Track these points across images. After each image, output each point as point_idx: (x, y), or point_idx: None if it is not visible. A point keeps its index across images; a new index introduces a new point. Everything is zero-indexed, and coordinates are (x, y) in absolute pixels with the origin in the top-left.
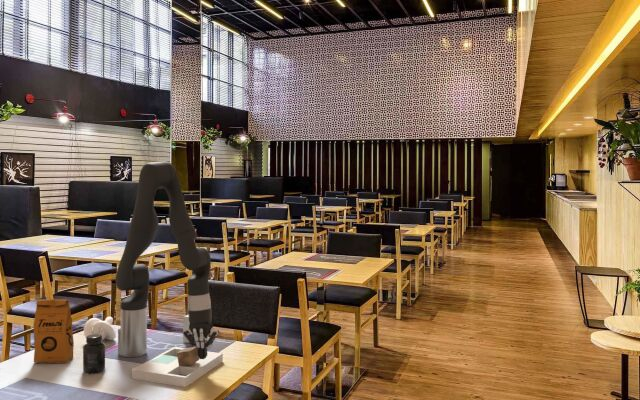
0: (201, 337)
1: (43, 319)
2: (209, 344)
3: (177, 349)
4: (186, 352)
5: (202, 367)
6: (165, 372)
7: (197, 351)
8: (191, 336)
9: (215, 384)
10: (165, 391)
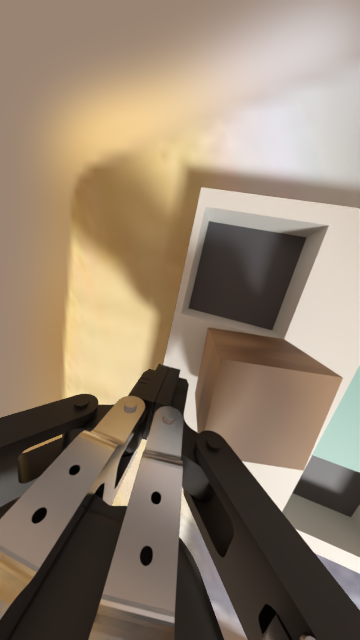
0: (69, 479)
1: None
2: (59, 402)
3: (355, 552)
4: (251, 360)
5: (169, 338)
6: (341, 237)
7: (198, 422)
8: (250, 579)
9: (110, 256)
10: (281, 135)
